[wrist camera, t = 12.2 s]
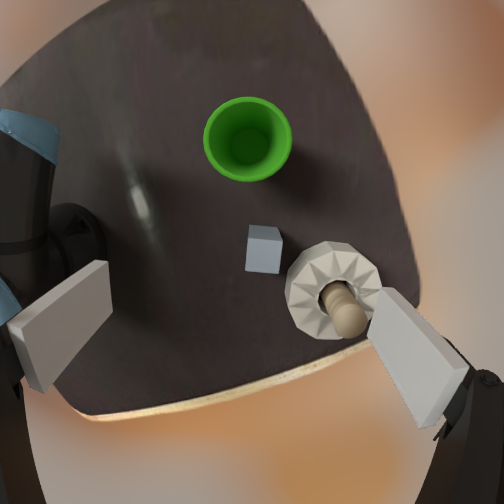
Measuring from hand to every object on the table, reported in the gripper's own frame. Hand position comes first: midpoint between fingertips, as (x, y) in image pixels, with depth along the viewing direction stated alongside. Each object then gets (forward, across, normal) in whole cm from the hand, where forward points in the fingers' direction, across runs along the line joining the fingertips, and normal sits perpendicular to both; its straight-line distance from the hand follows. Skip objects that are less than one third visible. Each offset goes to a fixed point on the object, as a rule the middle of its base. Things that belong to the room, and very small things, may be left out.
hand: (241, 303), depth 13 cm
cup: (+29, -1, +9) cm, 30 cm away
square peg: (+29, +2, -4) cm, 29 cm away
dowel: (+29, +13, -10) cm, 33 cm away
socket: (+29, +13, -10) cm, 33 cm away
